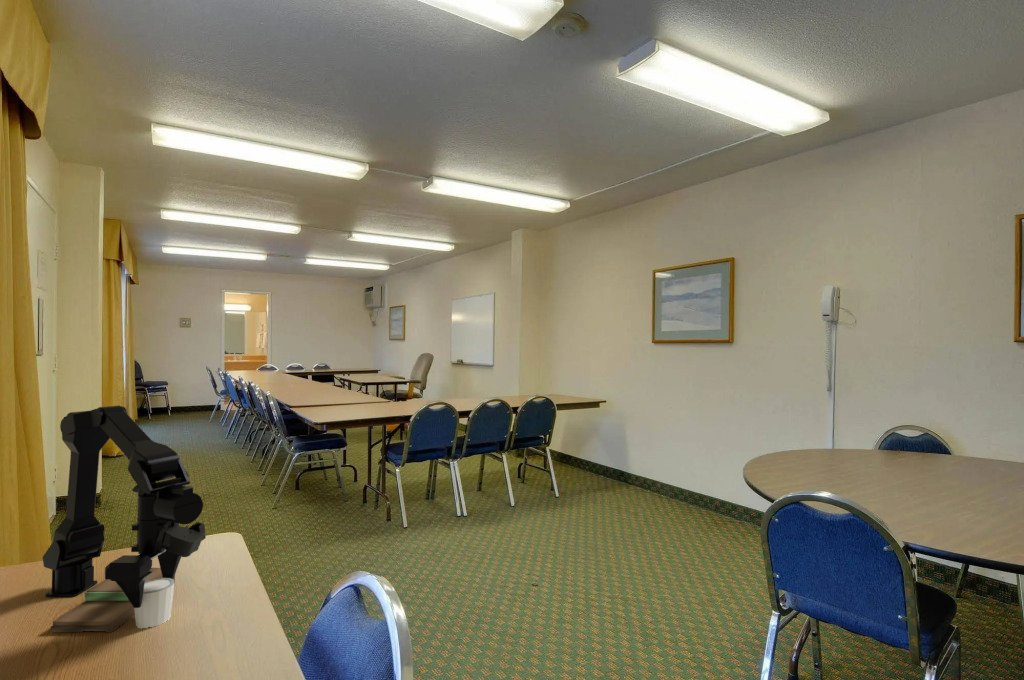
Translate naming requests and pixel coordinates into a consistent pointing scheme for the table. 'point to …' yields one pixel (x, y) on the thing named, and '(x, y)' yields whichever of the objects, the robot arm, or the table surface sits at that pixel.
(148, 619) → the white tapered cup
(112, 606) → the stepped riser
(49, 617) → the table surface
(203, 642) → the table surface
